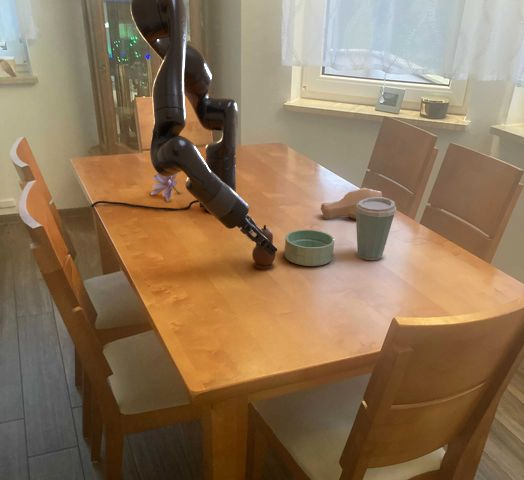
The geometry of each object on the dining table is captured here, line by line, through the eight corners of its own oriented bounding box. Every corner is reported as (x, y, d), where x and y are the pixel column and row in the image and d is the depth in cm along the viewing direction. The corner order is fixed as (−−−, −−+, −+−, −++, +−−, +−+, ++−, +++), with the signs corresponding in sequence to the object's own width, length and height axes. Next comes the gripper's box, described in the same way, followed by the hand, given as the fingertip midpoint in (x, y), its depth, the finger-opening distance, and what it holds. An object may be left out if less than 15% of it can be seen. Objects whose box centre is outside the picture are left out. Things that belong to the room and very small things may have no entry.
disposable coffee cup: (364, 266, 142) (372, 210, 134) (341, 251, 150) (347, 197, 142) (396, 259, 147) (406, 205, 138) (372, 245, 155) (380, 193, 146)
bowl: (283, 266, 141) (284, 246, 138) (285, 247, 152) (286, 228, 149) (332, 269, 140) (334, 249, 137) (331, 249, 151) (333, 231, 148)
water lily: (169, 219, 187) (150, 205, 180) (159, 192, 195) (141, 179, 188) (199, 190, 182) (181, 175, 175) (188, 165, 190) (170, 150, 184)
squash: (388, 222, 172) (391, 196, 165) (326, 232, 170) (326, 206, 164) (377, 205, 179) (379, 180, 173) (318, 214, 178) (318, 189, 172)
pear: (250, 270, 138) (251, 228, 132) (253, 260, 144) (254, 220, 137) (274, 271, 138) (276, 230, 132) (275, 262, 143) (277, 221, 137)
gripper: (207, 206, 135) (252, 246, 145) (221, 227, 124) (268, 269, 134) (228, 183, 134) (272, 226, 143) (244, 202, 122) (290, 247, 132)
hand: (270, 246), depth 138 cm, fingers open, 6 cm apart
